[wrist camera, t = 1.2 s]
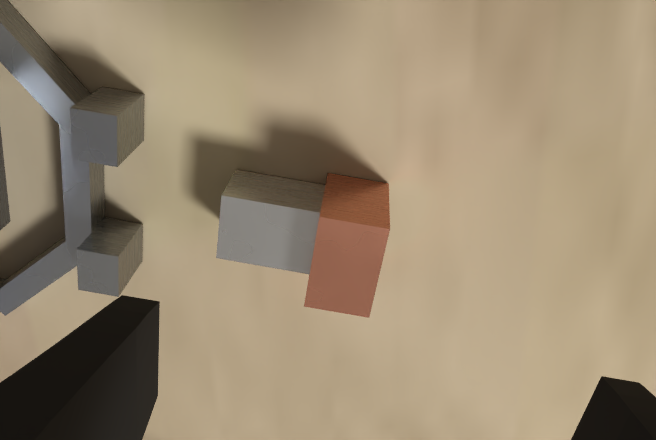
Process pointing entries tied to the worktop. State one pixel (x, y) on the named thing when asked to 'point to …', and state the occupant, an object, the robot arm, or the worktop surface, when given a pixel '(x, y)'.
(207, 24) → the worktop surface
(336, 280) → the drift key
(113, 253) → the socket
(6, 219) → the gold-capped square jar
